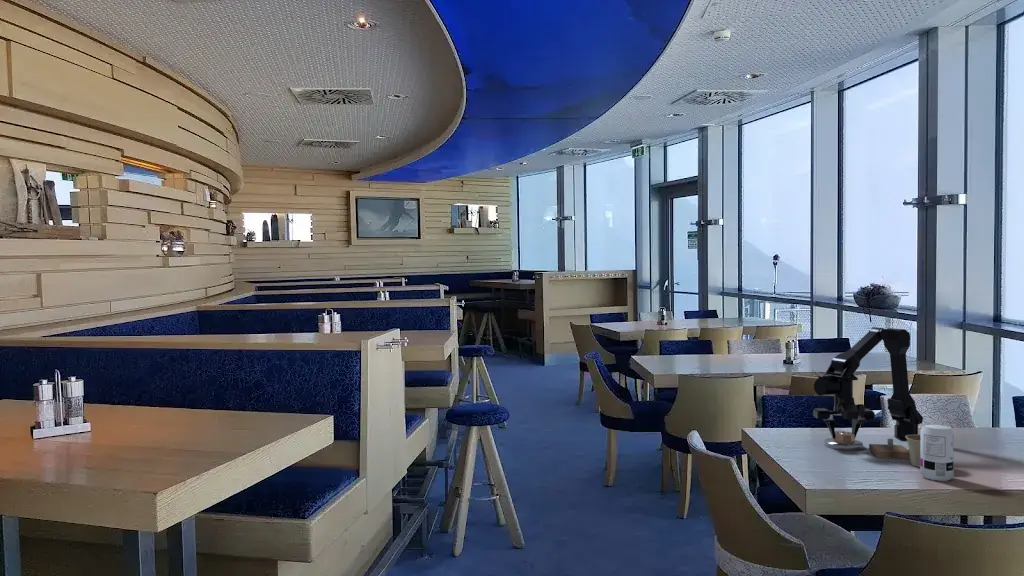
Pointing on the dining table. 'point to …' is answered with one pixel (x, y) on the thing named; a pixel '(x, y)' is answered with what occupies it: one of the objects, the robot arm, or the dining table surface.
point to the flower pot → (914, 449)
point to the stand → (889, 450)
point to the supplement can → (936, 452)
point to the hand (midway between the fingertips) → (843, 438)
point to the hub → (843, 445)
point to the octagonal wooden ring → (844, 437)
